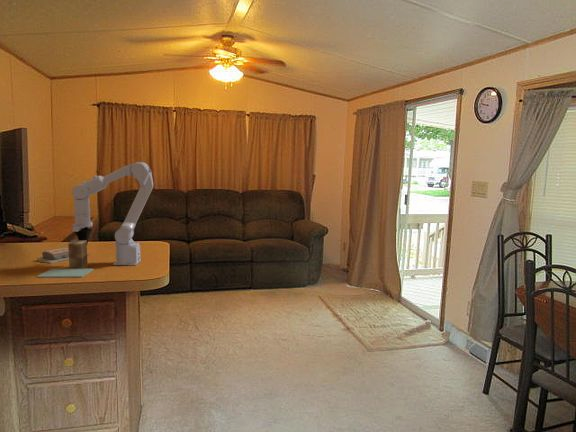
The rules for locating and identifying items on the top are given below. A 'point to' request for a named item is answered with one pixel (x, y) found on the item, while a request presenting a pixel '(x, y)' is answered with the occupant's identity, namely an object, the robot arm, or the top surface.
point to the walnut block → (78, 254)
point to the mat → (65, 273)
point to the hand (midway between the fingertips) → (83, 246)
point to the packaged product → (55, 255)
